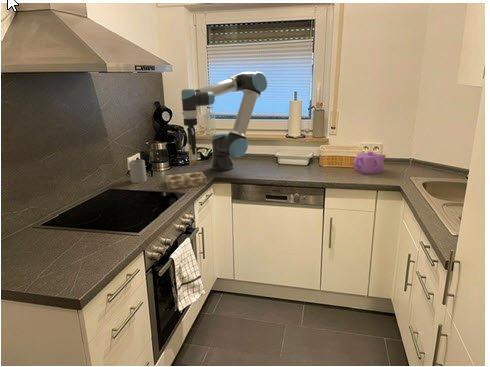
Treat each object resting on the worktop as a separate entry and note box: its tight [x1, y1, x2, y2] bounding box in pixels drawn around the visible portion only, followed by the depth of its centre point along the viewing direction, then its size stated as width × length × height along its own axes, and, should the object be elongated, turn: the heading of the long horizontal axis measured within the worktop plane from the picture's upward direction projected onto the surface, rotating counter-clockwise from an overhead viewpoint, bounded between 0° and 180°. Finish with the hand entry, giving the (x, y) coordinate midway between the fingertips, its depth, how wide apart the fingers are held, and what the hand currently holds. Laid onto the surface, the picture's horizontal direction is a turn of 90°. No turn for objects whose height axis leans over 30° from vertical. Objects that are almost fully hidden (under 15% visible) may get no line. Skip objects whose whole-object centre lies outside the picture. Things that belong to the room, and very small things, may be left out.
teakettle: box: [353, 151, 387, 176], centre depth 213 cm, size 17×17×12 cm
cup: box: [128, 159, 148, 184], centre depth 210 cm, size 9×9×12 cm
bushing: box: [188, 143, 198, 167], centre depth 200 cm, size 4×4×12 cm
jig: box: [164, 171, 208, 190], centre depth 203 cm, size 22×14×4 cm, turn 107°
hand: (193, 158), depth 201 cm, fingers closed on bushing, 4 cm apart
